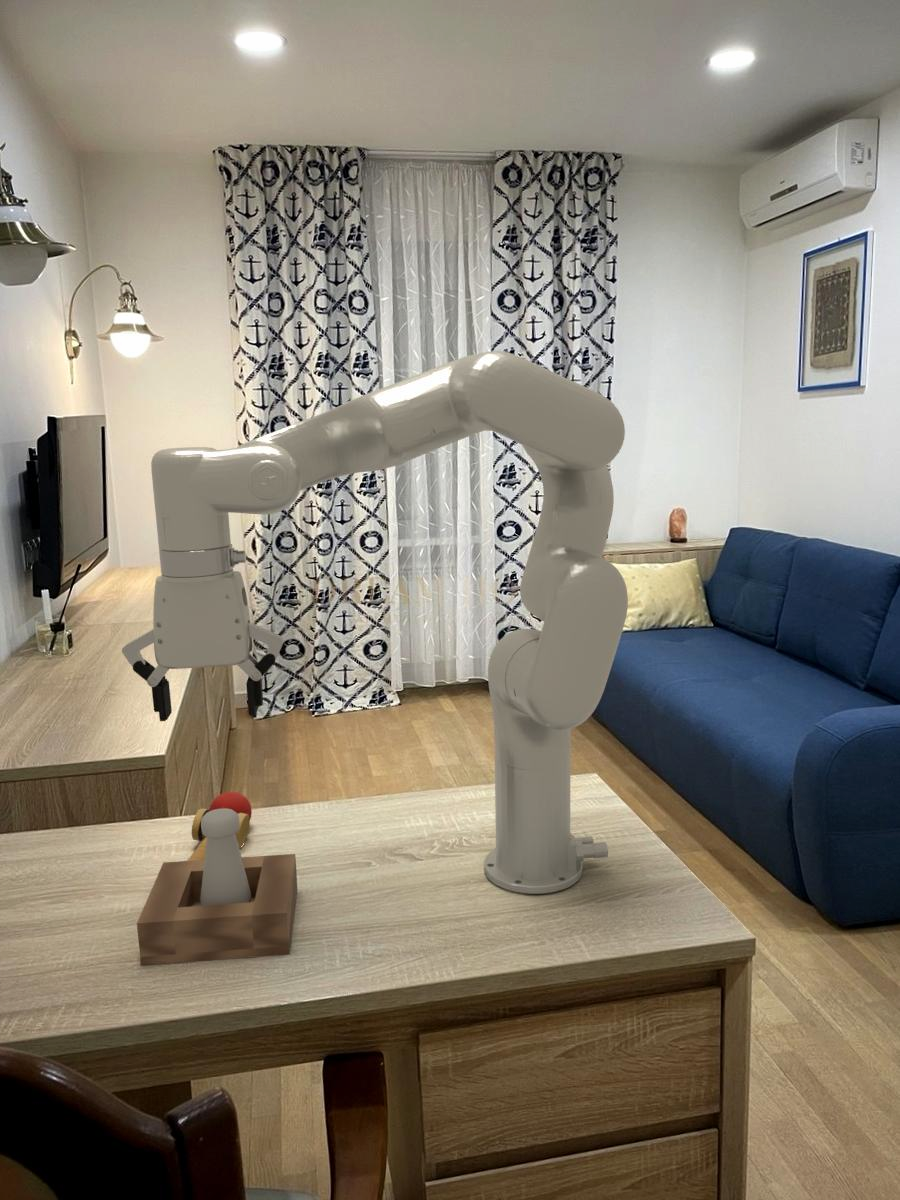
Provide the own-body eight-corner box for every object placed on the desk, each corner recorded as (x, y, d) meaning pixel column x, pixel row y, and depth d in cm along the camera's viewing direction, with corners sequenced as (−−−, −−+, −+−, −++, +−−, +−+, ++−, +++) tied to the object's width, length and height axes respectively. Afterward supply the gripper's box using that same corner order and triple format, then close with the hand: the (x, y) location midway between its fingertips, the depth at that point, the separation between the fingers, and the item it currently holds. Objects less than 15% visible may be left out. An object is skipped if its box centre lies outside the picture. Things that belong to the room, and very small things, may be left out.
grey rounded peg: (240, 932, 106) (232, 825, 103) (193, 928, 107) (184, 822, 104) (260, 906, 111) (252, 804, 109) (215, 902, 112) (207, 801, 110)
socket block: (297, 890, 117) (295, 853, 116) (289, 954, 103) (286, 912, 102) (166, 899, 115) (163, 862, 114) (140, 965, 102) (136, 923, 101)
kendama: (229, 893, 120) (268, 815, 136) (214, 851, 118) (256, 778, 135) (173, 900, 121) (218, 822, 138) (157, 859, 119) (206, 785, 136)
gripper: (280, 554, 105) (290, 700, 109) (123, 561, 104) (138, 709, 107) (274, 565, 98) (285, 721, 101) (105, 573, 96) (122, 731, 100)
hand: (210, 714), depth 104 cm, fingers open, 9 cm apart
